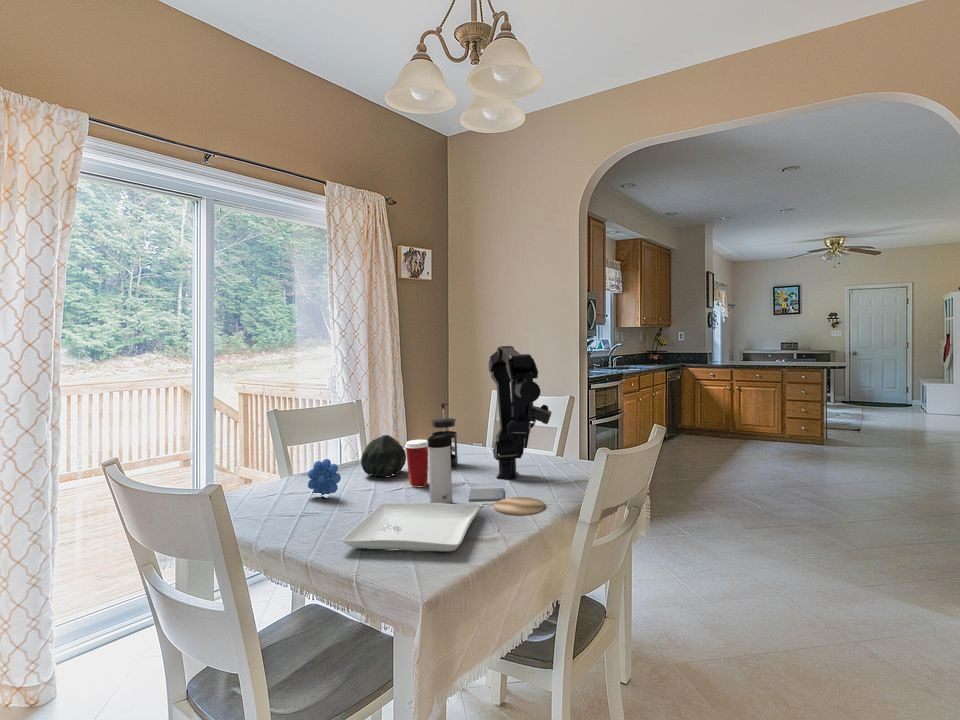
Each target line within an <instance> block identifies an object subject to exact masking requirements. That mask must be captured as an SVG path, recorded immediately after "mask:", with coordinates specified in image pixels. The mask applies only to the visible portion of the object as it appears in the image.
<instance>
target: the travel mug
mask: <svg viewBox="0 0 960 720" xmlns="http://www.w3.org/2000/svg"><path fill="white" fill-rule="evenodd" d="M450 436H451V433H448V434H438V435H433V436H432V435H430V436H429V437H428V438H427V441H428V481H429V503H443V504H453V483H452V482H453V480H452V468H451V453H450Z"/></svg>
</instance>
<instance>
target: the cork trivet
mask: <svg viewBox="0 0 960 720" xmlns="http://www.w3.org/2000/svg"><path fill="white" fill-rule="evenodd" d="M493 508H494V510H495V511H496V512H498V513H500V514H504V515H509V516H510V515H511V516H528V514H530V515H534V513H535V514H538V513H540V512H542V511H544V510H545V509H546V503H545V502H544V501H543V500H541V499H538V498H534V497H524V496H522V497H521V496H519V497H518V496H515V497H507V498H504V499H503V500H497V501H496V502H495V503H494V504H493Z"/></svg>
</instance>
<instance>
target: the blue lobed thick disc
mask: <svg viewBox="0 0 960 720" xmlns="http://www.w3.org/2000/svg"><path fill="white" fill-rule="evenodd" d="M338 471H339V466H338V464H336V463H332V462H331V459H329V458H325V459H323V460H322V461H320V460H317V461H315V462H314V463H313V468H311V469H310V470H309V471H308V473H307V477H308V478H309V480H308V482H307V487H308V488H309V489H310V490H312V494H313V493H321V494H322V495H324V494H330V495H331V494H334V493H335V494H336V493H337V491H338V488H339V487H338V484H339V482H340V481H341V475H340V473H337V472H338Z"/></svg>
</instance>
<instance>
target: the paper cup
mask: <svg viewBox="0 0 960 720" xmlns="http://www.w3.org/2000/svg"><path fill="white" fill-rule="evenodd" d="M404 448H405V450H406V451H405V454H406V461H407V462H406V463H407V469H408V479H409V480H408V482H409V486H410V485H412V486H424V487H426V486H428V481H429V461H428V439H412V440H408V441H406V442H405V446H404ZM425 485H426V486H425Z"/></svg>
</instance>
